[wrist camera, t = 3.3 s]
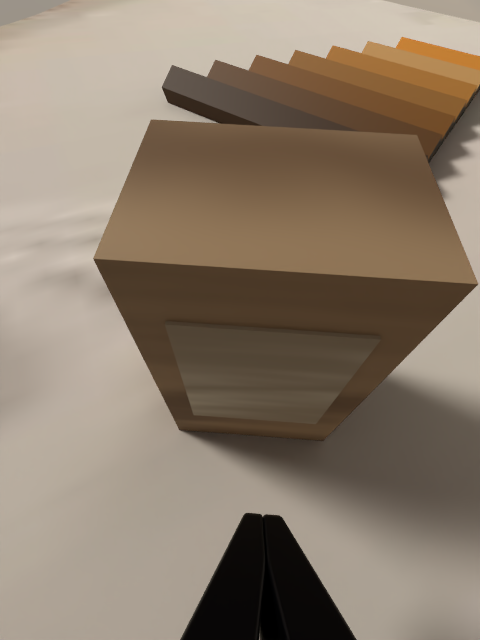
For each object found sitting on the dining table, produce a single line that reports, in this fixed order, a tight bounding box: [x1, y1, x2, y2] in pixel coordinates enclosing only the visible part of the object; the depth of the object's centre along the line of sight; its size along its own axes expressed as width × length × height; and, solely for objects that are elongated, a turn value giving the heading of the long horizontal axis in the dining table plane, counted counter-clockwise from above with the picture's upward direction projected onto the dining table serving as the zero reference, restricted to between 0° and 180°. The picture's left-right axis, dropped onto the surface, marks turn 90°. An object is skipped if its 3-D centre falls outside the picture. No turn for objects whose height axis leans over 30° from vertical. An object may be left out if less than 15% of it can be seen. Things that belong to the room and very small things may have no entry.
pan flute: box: [162, 37, 480, 163], centre depth 34 cm, size 25×3×25 cm
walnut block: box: [93, 120, 478, 441], centre depth 12 cm, size 5×7×12 cm
